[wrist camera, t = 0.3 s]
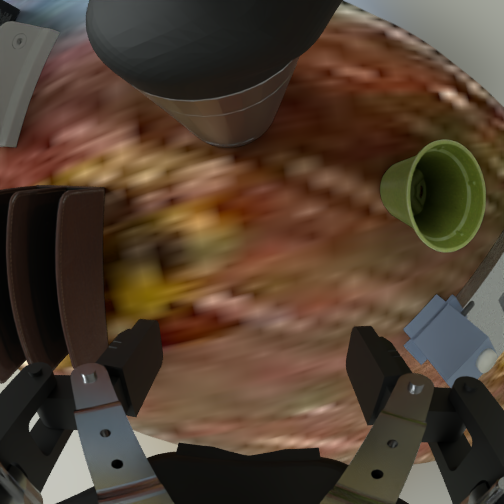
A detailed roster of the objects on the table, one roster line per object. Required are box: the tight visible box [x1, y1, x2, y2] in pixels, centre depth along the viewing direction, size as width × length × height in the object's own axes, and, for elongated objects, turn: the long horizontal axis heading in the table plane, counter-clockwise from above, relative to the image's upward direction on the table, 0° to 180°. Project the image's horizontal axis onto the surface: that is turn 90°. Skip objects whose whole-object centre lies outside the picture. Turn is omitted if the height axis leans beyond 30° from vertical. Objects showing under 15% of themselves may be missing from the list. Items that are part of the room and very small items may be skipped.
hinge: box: [0, 21, 60, 147], centre depth 20 cm, size 17×5×10 cm, turn 160°
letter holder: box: [0, 185, 109, 384], centre depth 23 cm, size 10×20×14 cm, turn 173°
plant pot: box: [380, 140, 486, 252], centre depth 24 cm, size 9×9×9 cm
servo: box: [403, 294, 498, 388], centre depth 26 cm, size 10×4×12 cm, turn 138°
